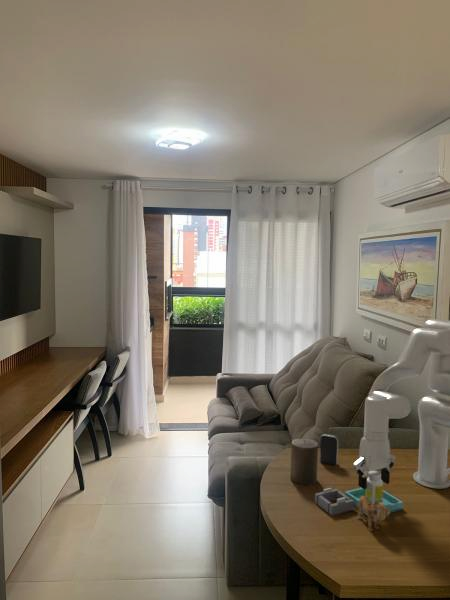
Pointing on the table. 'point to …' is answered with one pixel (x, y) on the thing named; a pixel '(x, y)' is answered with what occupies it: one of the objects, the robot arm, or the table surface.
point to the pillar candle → (304, 461)
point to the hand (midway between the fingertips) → (373, 484)
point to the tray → (388, 500)
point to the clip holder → (341, 506)
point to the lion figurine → (372, 511)
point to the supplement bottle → (374, 487)
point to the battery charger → (329, 449)
